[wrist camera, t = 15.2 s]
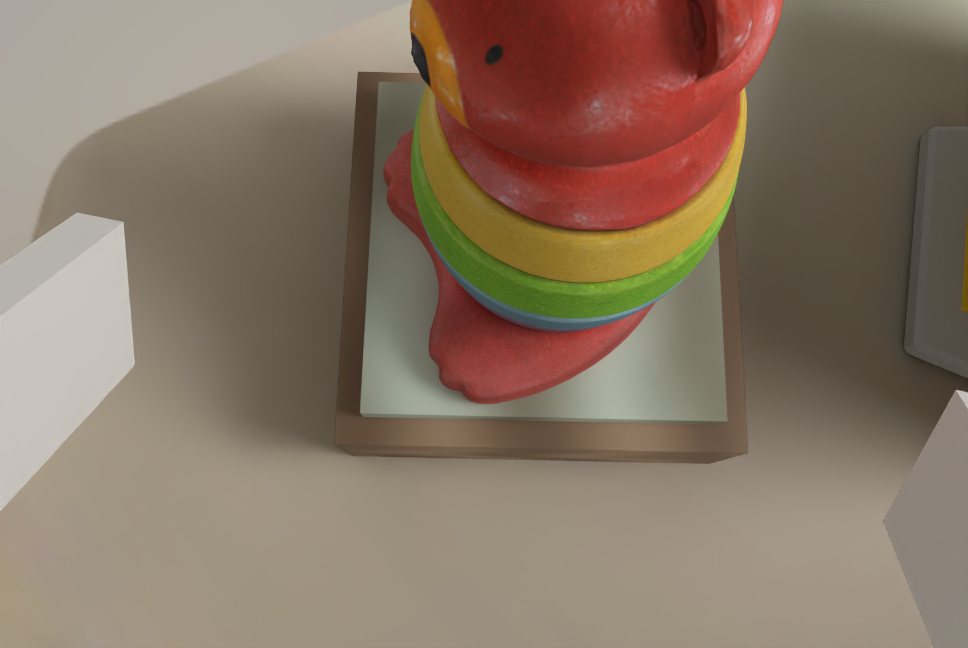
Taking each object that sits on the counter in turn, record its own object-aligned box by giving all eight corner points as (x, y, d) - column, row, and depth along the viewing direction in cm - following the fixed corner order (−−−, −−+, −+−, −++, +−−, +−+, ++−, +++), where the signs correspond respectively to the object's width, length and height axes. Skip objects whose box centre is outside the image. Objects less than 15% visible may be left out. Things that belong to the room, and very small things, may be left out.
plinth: (694, 138, 38) (734, 68, 32) (709, 463, 35) (757, 450, 29) (372, 129, 38) (354, 58, 32) (353, 455, 35) (329, 441, 29)
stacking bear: (372, 148, 31) (252, -316, 14) (623, 84, 32) (799, -427, 15) (447, 419, 29) (412, 260, 12) (716, 343, 30) (1056, 89, 13)
